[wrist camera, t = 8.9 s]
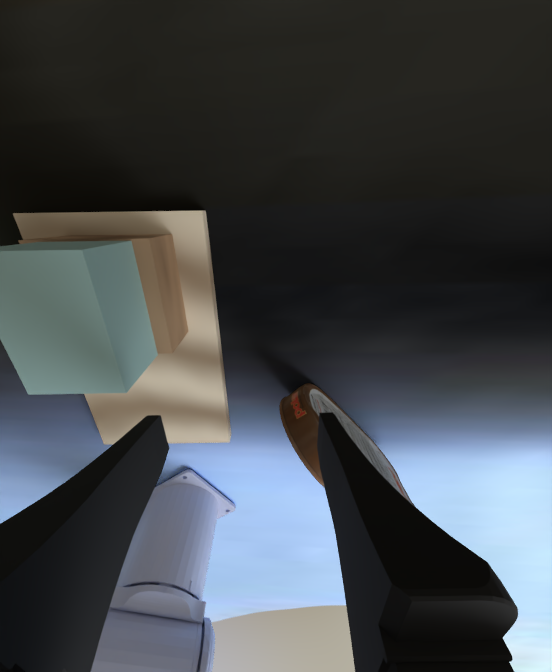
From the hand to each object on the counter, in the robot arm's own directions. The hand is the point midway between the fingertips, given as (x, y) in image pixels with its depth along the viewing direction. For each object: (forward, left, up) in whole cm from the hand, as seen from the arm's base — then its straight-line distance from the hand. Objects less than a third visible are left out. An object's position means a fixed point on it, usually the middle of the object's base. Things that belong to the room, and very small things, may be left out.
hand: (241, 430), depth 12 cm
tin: (+1, -12, -11) cm, 16 cm away
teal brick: (-4, +8, -6) cm, 11 cm away
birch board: (-8, +4, -10) cm, 14 cm away
